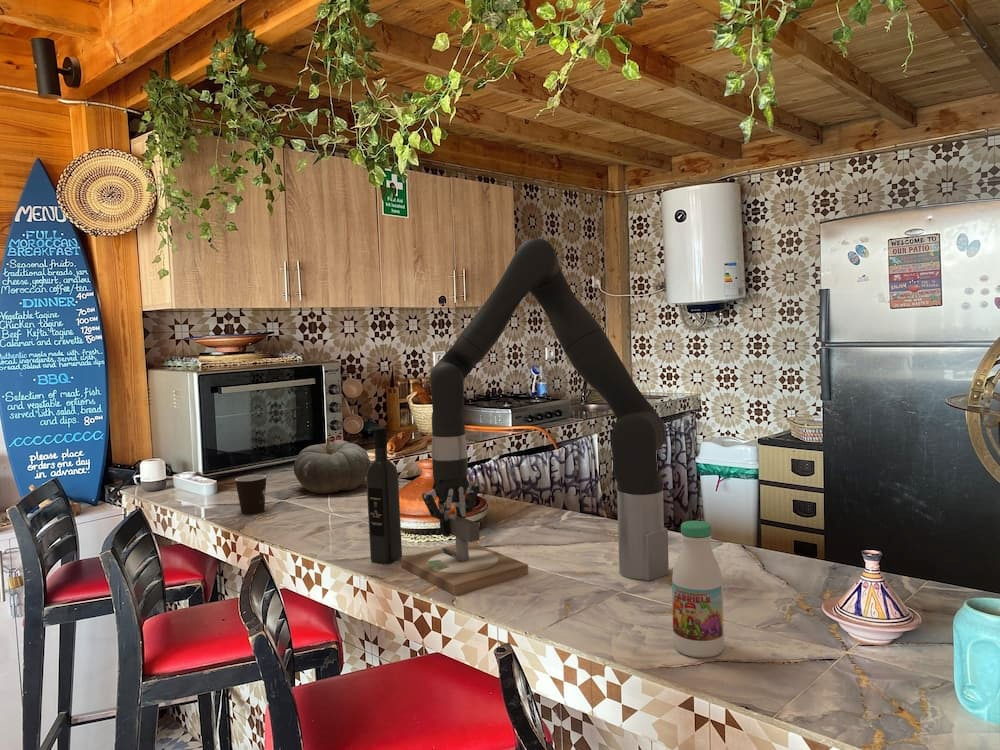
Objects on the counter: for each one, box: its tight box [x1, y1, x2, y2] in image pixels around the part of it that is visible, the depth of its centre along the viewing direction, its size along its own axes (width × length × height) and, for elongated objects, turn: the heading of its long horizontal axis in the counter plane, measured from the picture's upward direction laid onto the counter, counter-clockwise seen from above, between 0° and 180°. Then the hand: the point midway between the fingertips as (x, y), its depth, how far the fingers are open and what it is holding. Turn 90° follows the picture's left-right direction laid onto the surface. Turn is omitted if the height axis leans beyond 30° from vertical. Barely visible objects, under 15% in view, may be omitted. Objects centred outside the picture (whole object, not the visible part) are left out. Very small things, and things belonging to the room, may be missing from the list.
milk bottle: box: [671, 520, 725, 659], centre depth 116 cm, size 8×8×20 cm
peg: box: [442, 514, 480, 561], centre depth 158 cm, size 12×3×8 cm, turn 36°
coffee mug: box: [234, 474, 267, 515], centre depth 217 cm, size 12×9×10 cm
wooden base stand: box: [400, 541, 529, 596], centre depth 157 cm, size 22×18×2 cm
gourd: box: [293, 437, 372, 495], centre depth 241 cm, size 25×25×17 cm
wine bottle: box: [365, 426, 403, 565], centre depth 165 cm, size 6×6×30 cm
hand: (453, 534), depth 159 cm, fingers open, 3 cm apart
